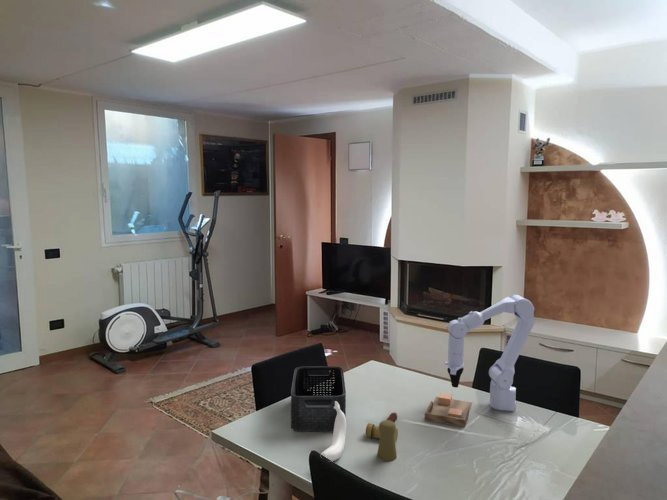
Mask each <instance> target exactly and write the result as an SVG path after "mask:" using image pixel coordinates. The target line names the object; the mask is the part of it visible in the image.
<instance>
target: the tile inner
mask: <svg viewBox="0 0 667 500" xmlns="http://www.w3.org/2000/svg"><path fill="white" fill-rule="evenodd" d="M448 416H450V417H456V418H462V417H463V410H459V409H453V408H450V410H449V412H448Z"/></svg>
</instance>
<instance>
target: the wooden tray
mask: <svg viewBox="0 0 667 500" xmlns="http://www.w3.org/2000/svg"><path fill="white" fill-rule="evenodd" d="M438 397H439V396H436V397H435V399H434V400H433V401H430V403H429V405H428V407H427V408H426V410H425V413H424V420H425V421H429V422H434V423H441V424H446V425H452V426H455V427H456V426H457V427H462V428H465V427H466V425H467V421H468V418H469V415H470V412H471V409H472V404H473V402H472V401H468V400H467V401H465V400H459V399H453V398H452V402H451V405H444V404H438ZM450 408H453V409H459V410H463V417H462V418H456V417H450V416H448V412H449V410H450Z"/></svg>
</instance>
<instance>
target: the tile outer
mask: <svg viewBox="0 0 667 500" xmlns="http://www.w3.org/2000/svg"><path fill="white" fill-rule="evenodd" d="M437 397H438V404H444V405H451V402H452V399H453V394H449V393H442V392H441V393H440V394H439V395H438V396H437Z"/></svg>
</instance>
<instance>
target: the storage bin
mask: <svg viewBox="0 0 667 500" xmlns="http://www.w3.org/2000/svg"><path fill="white" fill-rule="evenodd" d="M309 371H311V372H313V371H316V372H321V371H325V372H326V371H327V372H328V371H329V374H325V375H324V374H321V375H320V374H319V375H317V374H309ZM292 377H293V378H292V383H291V389H290V403H291V404H290V428H291V430H292V431H294V432H300V433H301V432H303V433H304V432H305V433H307V432H315V433H316V432H333V431H334V424H335V419H336V416H337V411H336V409H334V406H335V401H337V402H338V404H339V405H340V410H341V411H342V412H343V413H344V415H345V418H347V417H346V416H347V415H346V414H347V413H346V410H347V409H346V408H347V405H346V404H347V403H346V401H347V398H346V397H347V390H346V382H345V381H346V380H345V374H344V369H343V367H340V366H337V365H335V366H331V365H330V366H329V365H328V366H323V365H321V366H319V365H317V366H310V365H309V366H307V365H306V366H304V365H303V366H298V367H295V368H294V370H293V376H292Z"/></svg>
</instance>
